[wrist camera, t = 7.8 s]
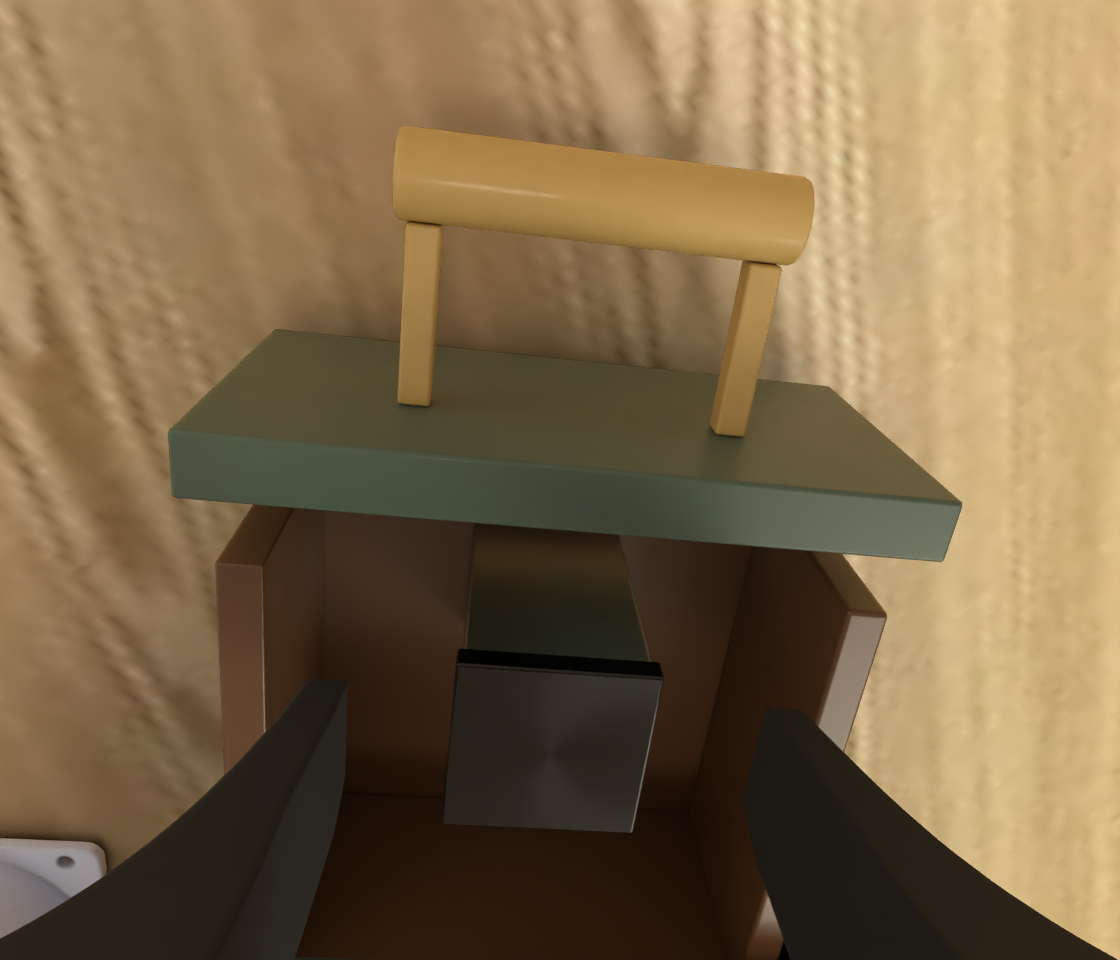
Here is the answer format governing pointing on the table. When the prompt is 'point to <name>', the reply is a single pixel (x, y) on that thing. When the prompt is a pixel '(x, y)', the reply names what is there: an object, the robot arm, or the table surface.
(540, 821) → the metal-capped square post
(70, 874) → the robot arm
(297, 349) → the drawer
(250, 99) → the table surface
